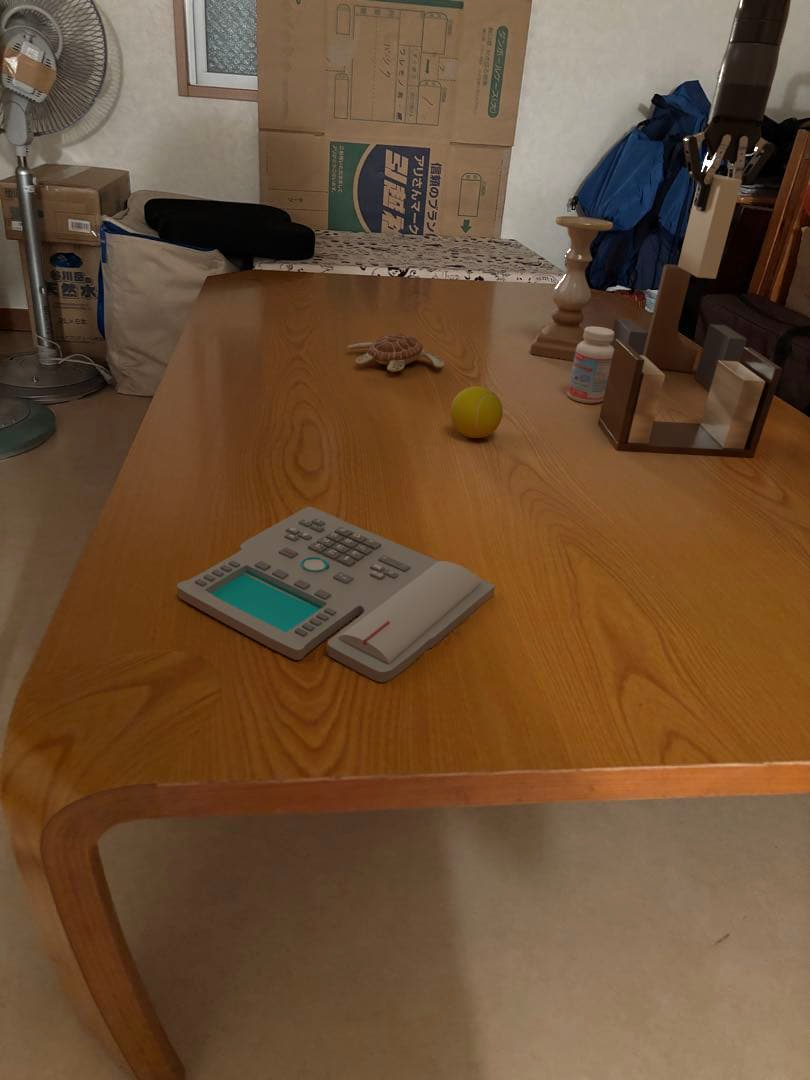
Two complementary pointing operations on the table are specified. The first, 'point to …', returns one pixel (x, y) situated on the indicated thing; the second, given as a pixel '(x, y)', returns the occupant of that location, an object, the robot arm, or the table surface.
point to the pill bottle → (591, 366)
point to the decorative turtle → (395, 351)
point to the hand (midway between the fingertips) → (711, 211)
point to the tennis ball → (476, 412)
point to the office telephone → (337, 594)
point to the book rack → (725, 421)
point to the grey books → (716, 347)
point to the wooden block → (670, 324)
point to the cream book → (709, 229)
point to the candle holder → (570, 291)
